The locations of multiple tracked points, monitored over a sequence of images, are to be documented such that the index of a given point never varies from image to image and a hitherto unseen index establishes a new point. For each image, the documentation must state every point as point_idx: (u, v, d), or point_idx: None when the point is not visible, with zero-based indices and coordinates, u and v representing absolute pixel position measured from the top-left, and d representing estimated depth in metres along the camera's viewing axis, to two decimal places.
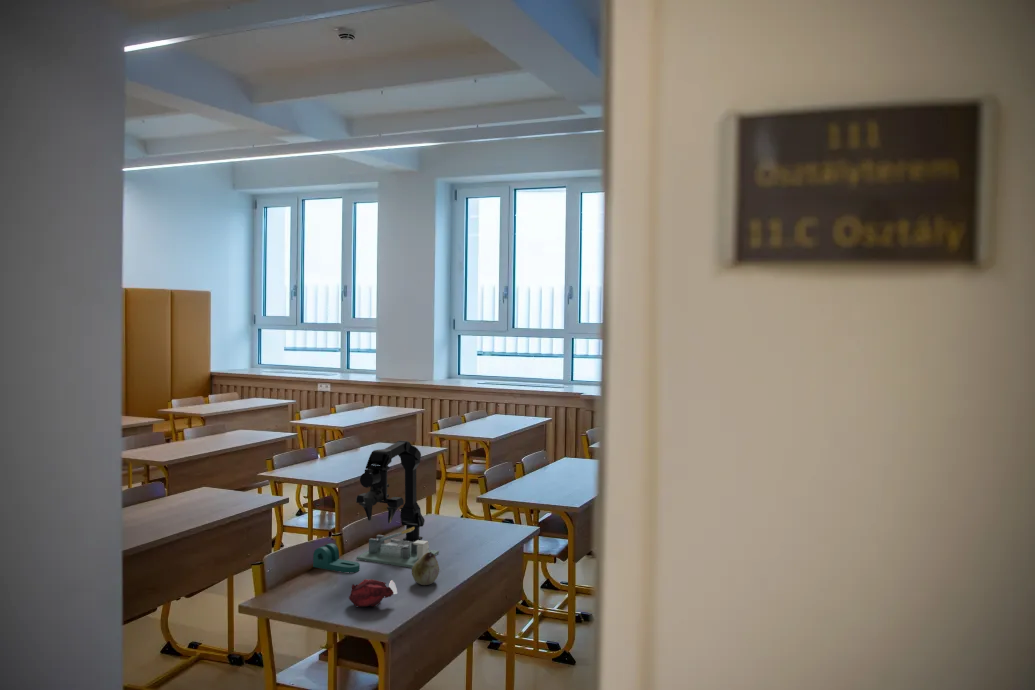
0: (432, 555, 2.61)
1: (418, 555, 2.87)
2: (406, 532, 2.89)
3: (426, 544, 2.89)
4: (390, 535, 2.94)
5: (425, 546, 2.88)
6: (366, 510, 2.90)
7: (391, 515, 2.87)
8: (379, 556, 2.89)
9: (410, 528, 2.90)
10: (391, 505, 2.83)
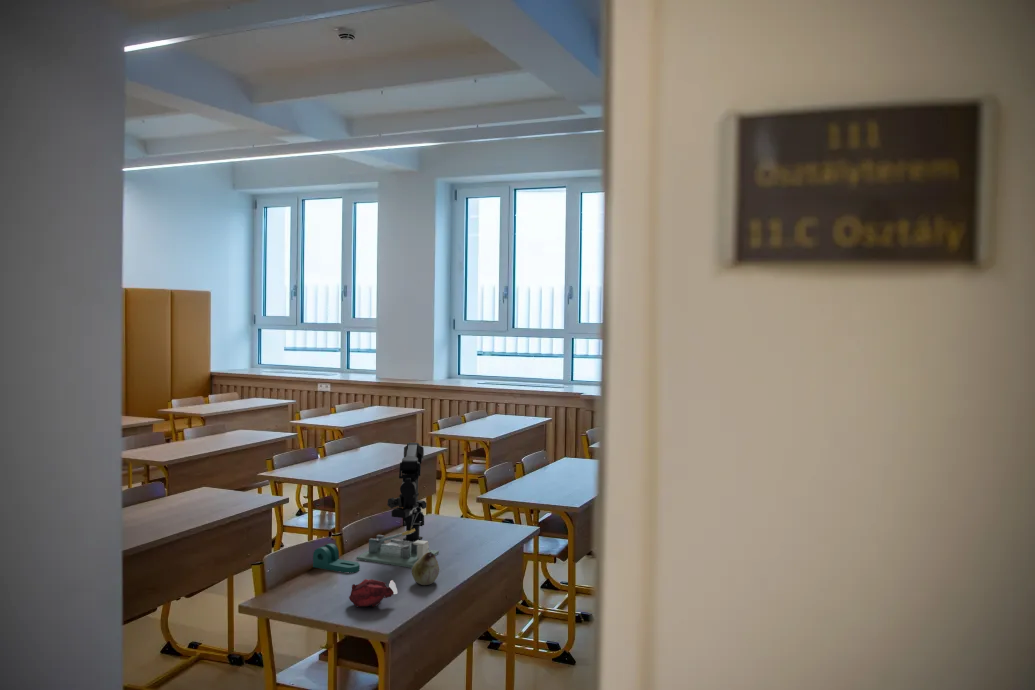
0: (432, 555, 2.61)
1: (418, 555, 2.87)
2: (407, 534, 2.89)
3: (426, 544, 2.89)
4: (390, 536, 2.94)
5: (425, 546, 2.88)
6: None
7: (406, 522, 2.90)
8: (379, 556, 2.89)
9: (411, 530, 2.89)
10: None
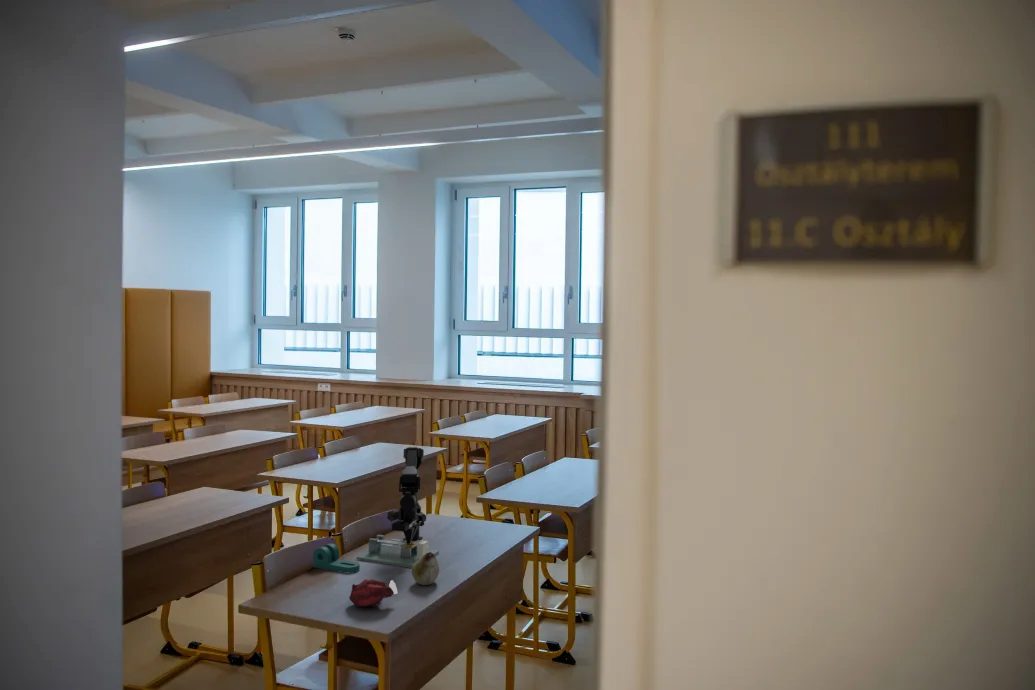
0: (432, 555, 2.61)
1: (418, 555, 2.87)
2: None
3: (426, 544, 2.89)
4: (391, 541, 2.94)
5: (425, 546, 2.88)
6: None
7: (406, 536, 2.89)
8: (379, 556, 2.89)
9: (413, 544, 2.89)
10: None
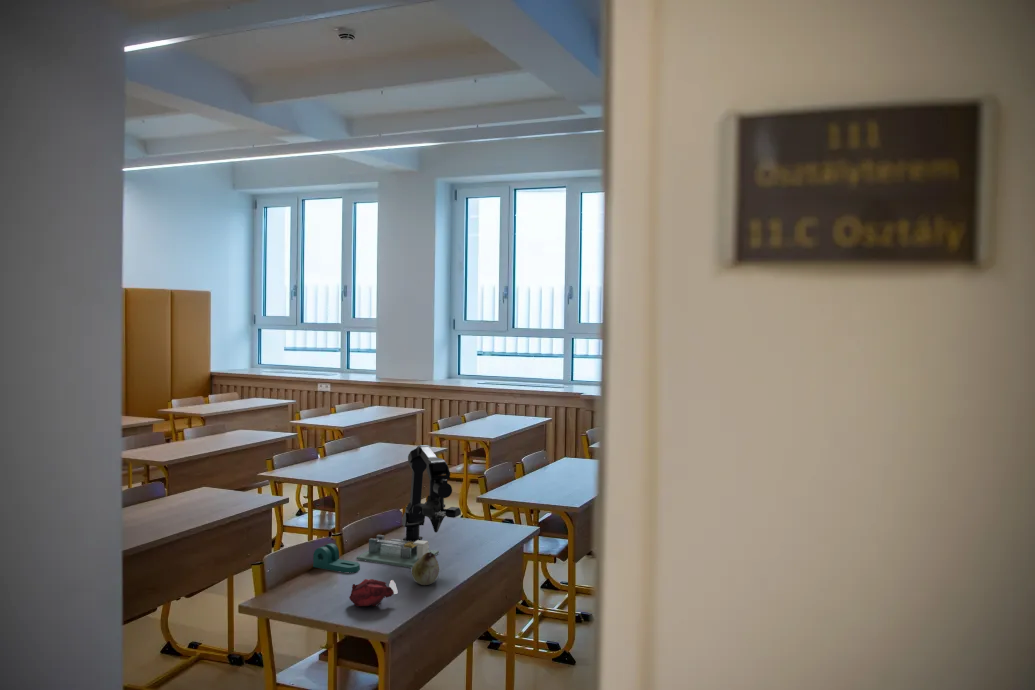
0: (432, 555, 2.61)
1: (418, 555, 2.87)
2: None
3: (426, 544, 2.89)
4: (391, 541, 2.94)
5: (425, 546, 2.88)
6: (432, 522, 2.85)
7: (438, 524, 2.86)
8: (379, 556, 2.89)
9: (413, 544, 2.89)
10: (449, 515, 2.81)
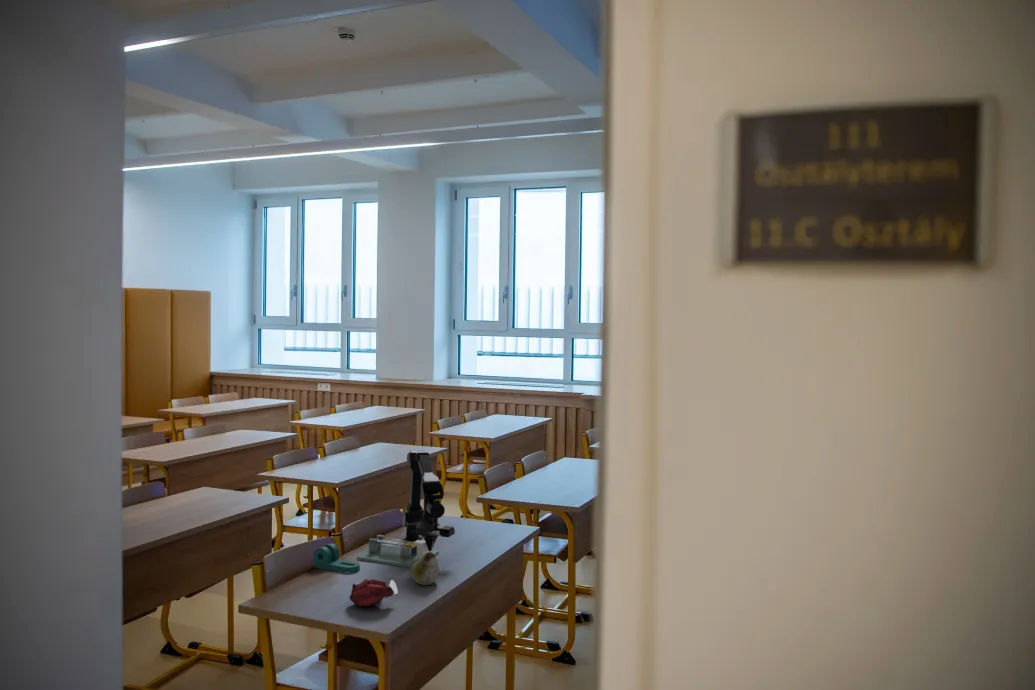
0: (432, 555, 2.61)
1: (418, 555, 2.87)
2: None
3: None
4: (391, 541, 2.94)
5: (425, 546, 2.88)
6: (426, 541, 2.87)
7: (432, 543, 2.87)
8: (379, 556, 2.89)
9: (413, 544, 2.89)
10: (443, 535, 2.82)
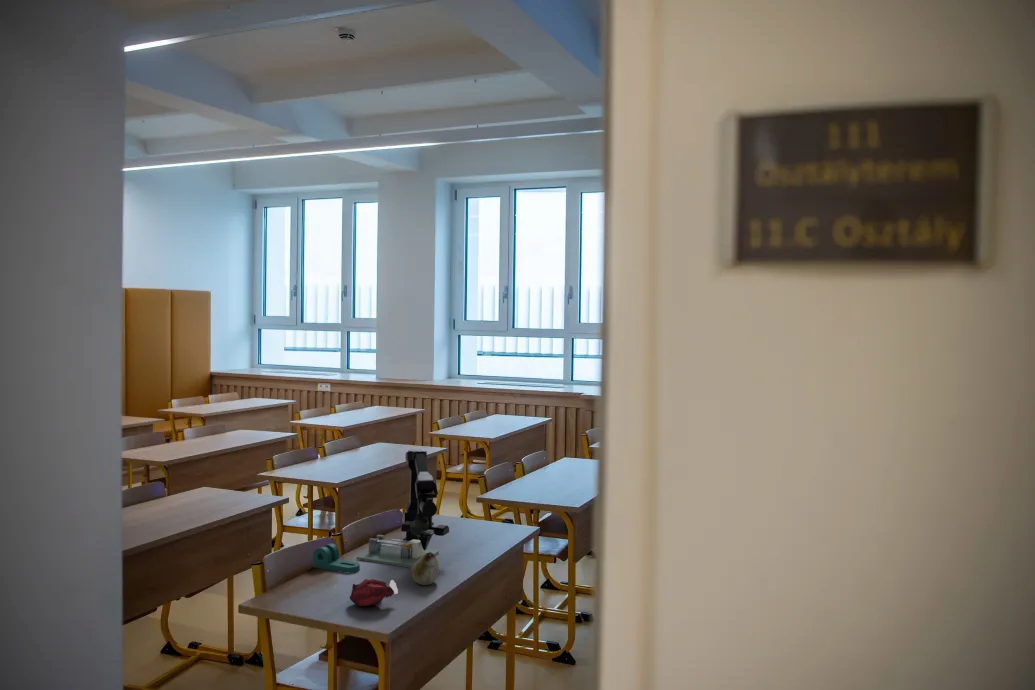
0: (432, 555, 2.61)
1: (413, 554, 2.87)
2: None
3: None
4: (391, 541, 2.94)
5: (420, 545, 2.89)
6: (421, 540, 2.87)
7: (427, 542, 2.88)
8: (379, 556, 2.89)
9: None
10: (438, 533, 2.83)
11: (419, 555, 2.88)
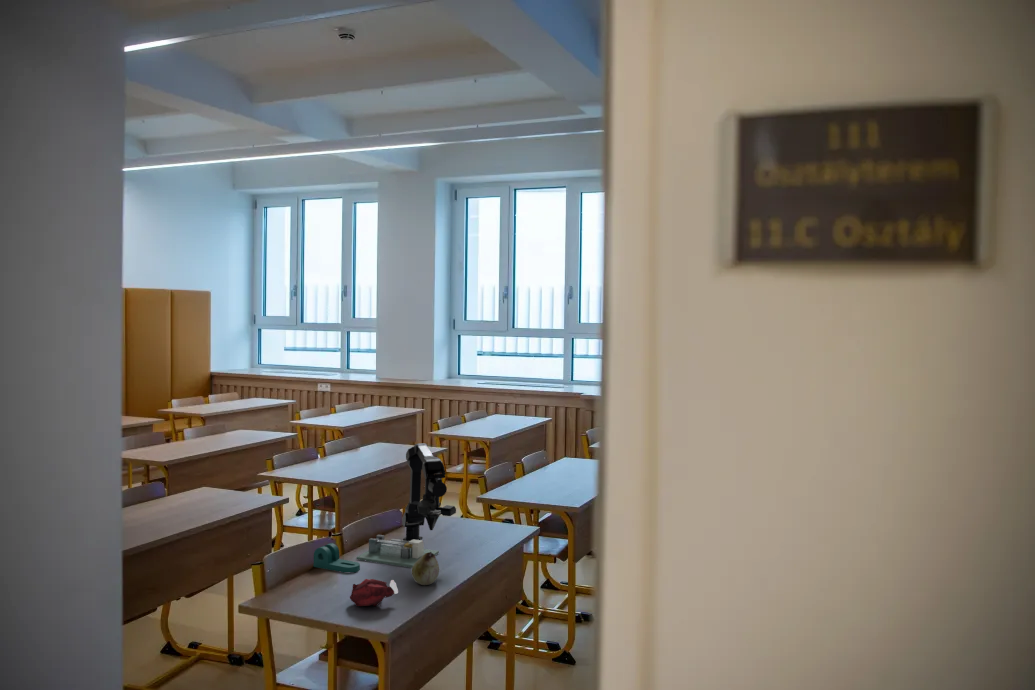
0: (432, 555, 2.61)
1: (413, 554, 2.87)
2: None
3: (421, 543, 2.89)
4: (391, 541, 2.94)
5: (420, 545, 2.89)
6: (428, 520, 2.88)
7: (434, 522, 2.88)
8: (379, 556, 2.89)
9: None
10: (445, 514, 2.83)
11: (419, 555, 2.88)
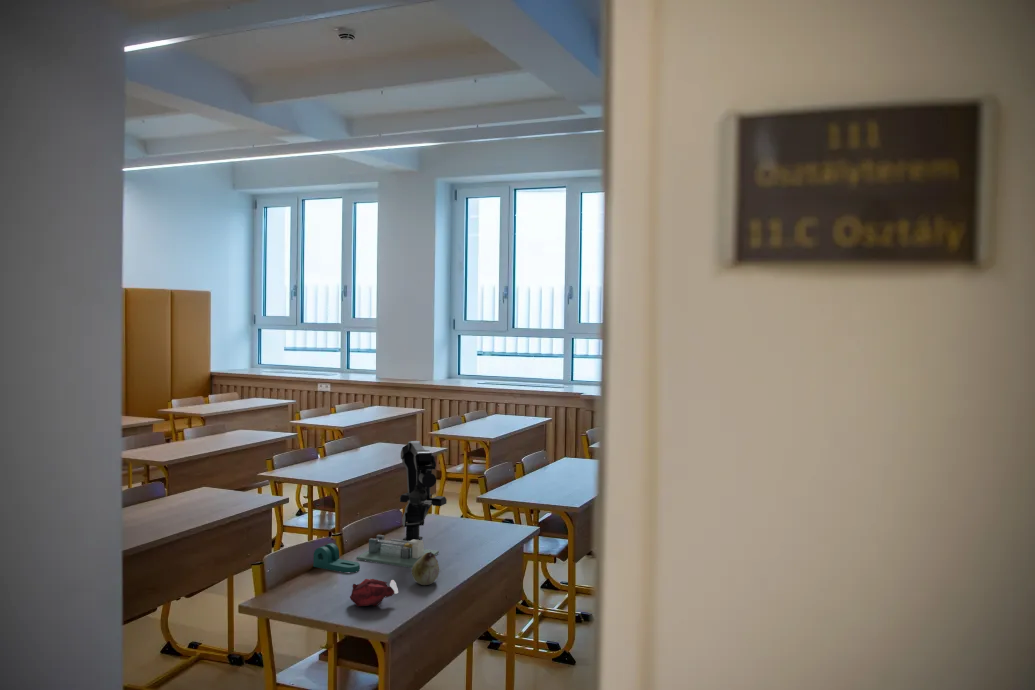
0: (432, 555, 2.61)
1: (413, 554, 2.87)
2: None
3: (421, 543, 2.89)
4: (391, 541, 2.94)
5: (420, 545, 2.89)
6: (419, 511, 2.98)
7: (425, 512, 2.98)
8: (379, 556, 2.89)
9: None
10: (435, 504, 2.93)
11: (419, 555, 2.88)
